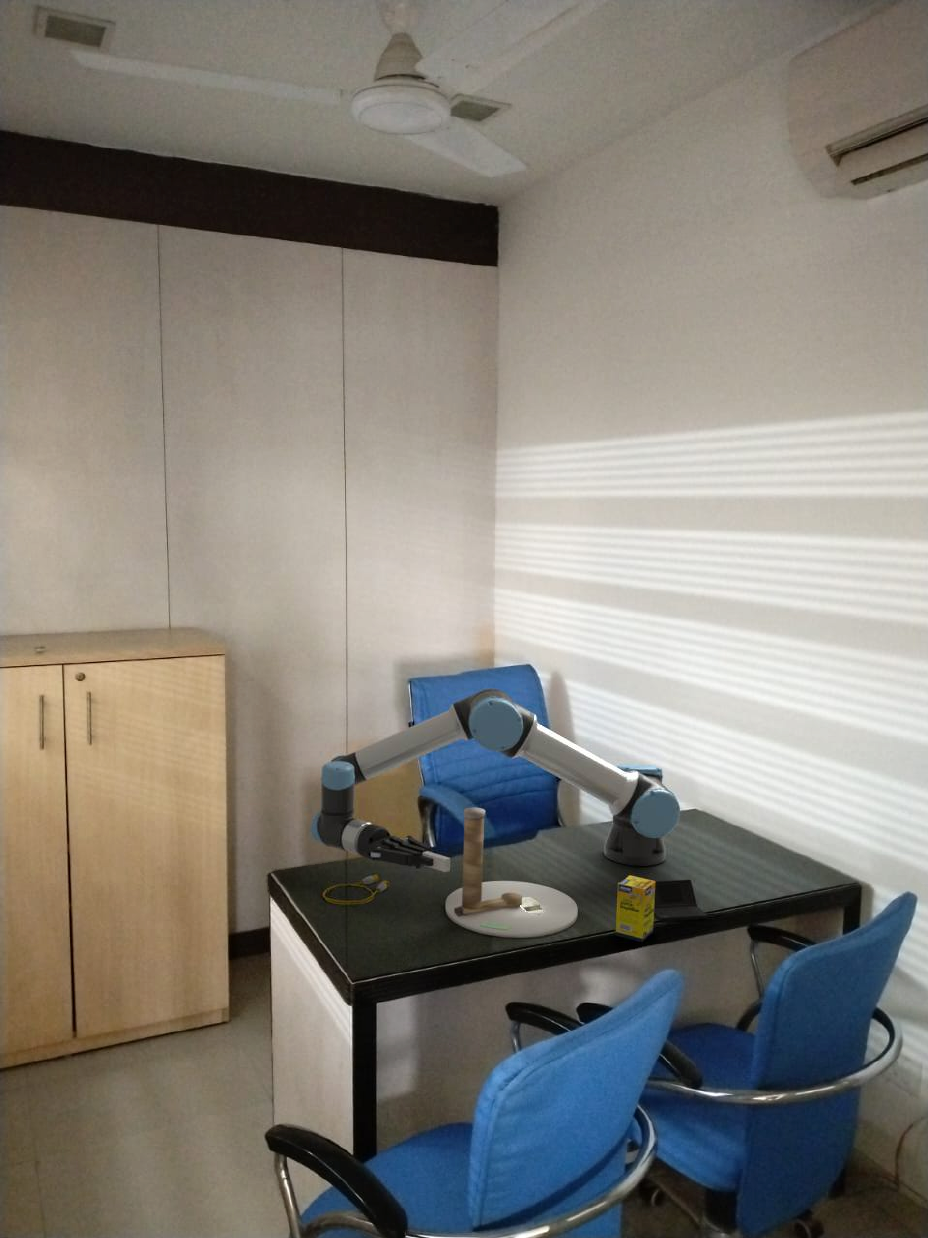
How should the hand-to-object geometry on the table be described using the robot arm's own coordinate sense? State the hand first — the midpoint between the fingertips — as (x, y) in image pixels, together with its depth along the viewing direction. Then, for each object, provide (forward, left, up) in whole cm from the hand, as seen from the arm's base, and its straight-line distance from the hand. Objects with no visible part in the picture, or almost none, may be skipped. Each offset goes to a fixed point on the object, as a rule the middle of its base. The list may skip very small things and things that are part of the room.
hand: (447, 865), depth 210 cm
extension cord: (+20, -7, -11) cm, 24 cm away
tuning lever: (-9, +1, -8) cm, 12 cm away
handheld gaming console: (-49, -6, -10) cm, 50 cm away
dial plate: (-14, -2, -10) cm, 17 cm away
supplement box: (-39, +7, -10) cm, 41 cm away
